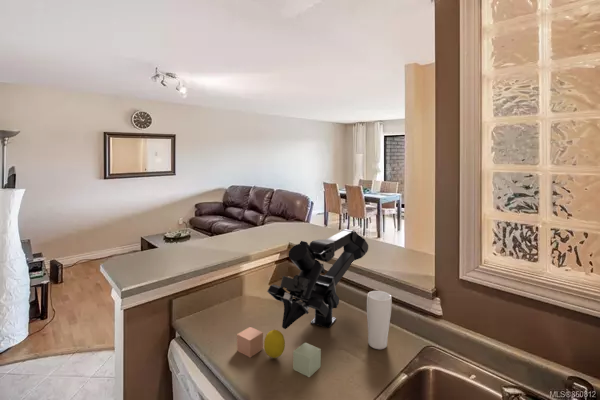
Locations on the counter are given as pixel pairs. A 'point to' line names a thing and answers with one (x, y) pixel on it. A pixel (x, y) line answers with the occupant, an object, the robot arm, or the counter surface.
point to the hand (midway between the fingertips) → (283, 328)
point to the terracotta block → (250, 341)
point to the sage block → (306, 359)
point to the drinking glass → (378, 318)
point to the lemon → (274, 343)
